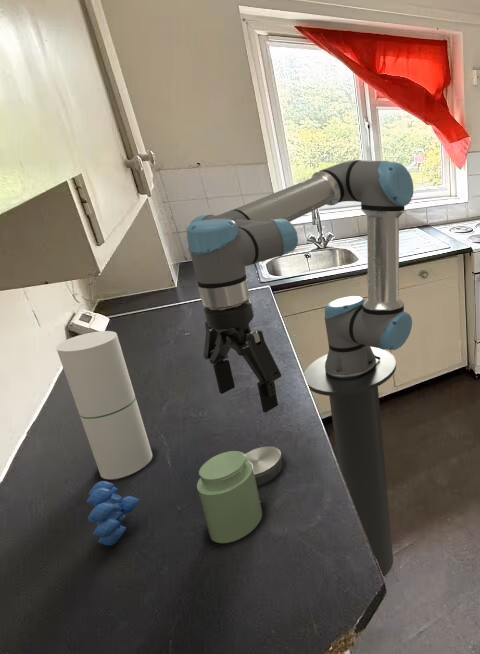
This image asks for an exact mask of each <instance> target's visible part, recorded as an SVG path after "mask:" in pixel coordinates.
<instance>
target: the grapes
mask: <svg viewBox="0 0 480 654" xmlns="http://www.w3.org/2000/svg"><path fill="white" fill-rule="evenodd" d="M118 490H119V488H118V487H116V486H115V484H114V483H113V482H109V481H107V480H100V481H97V482H96V483H95V484H94V485H92V488H91V489H90V490H89V492H88V494H87V495H88V497H87V500H86V501H85V502H86V503H88V504H89V505H92V506H94V508H93V509H92V510H91V511H90V513H89V514H88V516H87V518H88V520H87V521H88V522H90V523H91V524H95V525H96V527H95V529H94V530H93V532H92V535H95V536H97V537H99V539H98V541H97V543H99V544H101V545H104V546H113V545H115V544H116V543H118V541H119V540H120V539H121V537H122V536H124V533H125V532H126V530H127V527H126V526H123V525H122V524H123V522H124V520H125V518H126V517H127V516H126V515H125V514H129V513H131V512H132V511H133V510H134V509H135V508H136V507H137V505H138V503H139V502H140V501H141V499H140V498H138V497H135V496H133V495H126V496H124V497H122V496H121V495H120V494H117V492H118Z"/></svg>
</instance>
